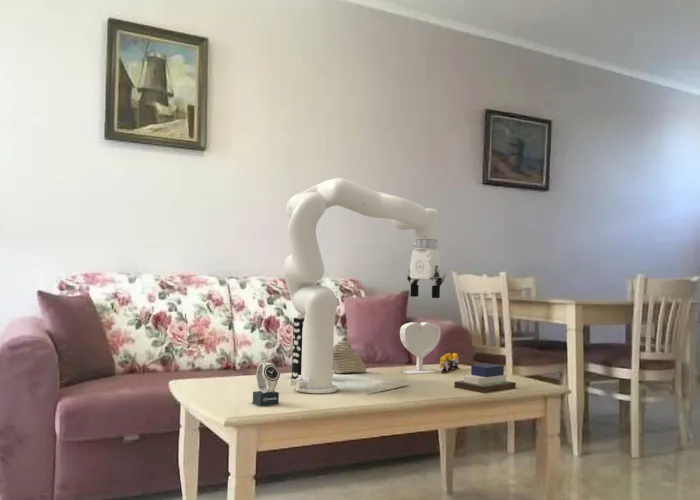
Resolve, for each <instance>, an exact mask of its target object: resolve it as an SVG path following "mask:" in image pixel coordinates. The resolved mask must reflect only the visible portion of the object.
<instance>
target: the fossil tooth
mask: <svg viewBox="0 0 700 500" xmlns="http://www.w3.org/2000/svg"><path fill="white" fill-rule="evenodd" d="M366 372H367V367H366V364H365V363H364V361H363V360H362V358H361V357H360V355H359V354H358V353H357V352H356V351H355V349H354V347H353V346H352V345H351V343H350V342H348V341H346V340H340V341H337V344H334V345H333V373H335V374H339V375H340V374H344V373H361V374H362V373H363V374H364V373H366Z"/></svg>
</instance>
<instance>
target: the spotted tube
mask: <svg viewBox="0 0 700 500" xmlns="http://www.w3.org/2000/svg"><path fill="white" fill-rule="evenodd" d="M304 319H305V317H293V323H292V324H293V325H292V327H293V328H292V353H291V355H292V356H291V379H296V378H298V375H301V366H302V331H303V324H304Z"/></svg>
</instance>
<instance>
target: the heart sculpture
mask: <svg viewBox="0 0 700 500" xmlns="http://www.w3.org/2000/svg"><path fill="white" fill-rule="evenodd" d="M399 328H400V329H399V338H400V342H401V344H402V345H403V347H404V348H405V349H406V350H407V351H408V352H409V353H410V354H412V355H414V356H415V357H416V364H415V365H416V369H410V370H403V371H402V373H403V374H409V375H410V374H411V375H412V374H427V373H428V374H429V373H437V371H436V370H431V369H426V368H424V359H425V357H426V356H427V355H429V354H430V353H431V352H433V350H434V349H435V348H437V346H438V344H439V342H440V340H441V333H442V332H441V327H440V326H439V325H438V324H436V323H433V322H426V321H425V322H424V321H421V322H420V323H419V322H413V321H412V322H411V321H410V322H407V323H404V324H403V325H401V327H399Z"/></svg>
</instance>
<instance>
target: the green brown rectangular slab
mask: <svg viewBox="0 0 700 500" xmlns="http://www.w3.org/2000/svg"><path fill="white" fill-rule="evenodd" d="M454 388H455V389H461V390H468V391H471V392H476V393H481V394H487V393H494V392H500V391H506V390H513V389H514V390H515V389H516V388H517V382H516V381H515V382H514V381H510V380H509V381H508V380H506V381H502V382H495V383H488V384H481V385H477V384H472V383H467V382H464V379H463V380H457V381H454Z"/></svg>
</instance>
